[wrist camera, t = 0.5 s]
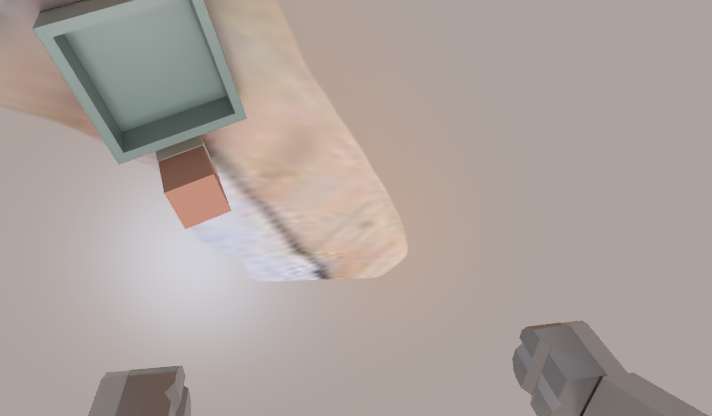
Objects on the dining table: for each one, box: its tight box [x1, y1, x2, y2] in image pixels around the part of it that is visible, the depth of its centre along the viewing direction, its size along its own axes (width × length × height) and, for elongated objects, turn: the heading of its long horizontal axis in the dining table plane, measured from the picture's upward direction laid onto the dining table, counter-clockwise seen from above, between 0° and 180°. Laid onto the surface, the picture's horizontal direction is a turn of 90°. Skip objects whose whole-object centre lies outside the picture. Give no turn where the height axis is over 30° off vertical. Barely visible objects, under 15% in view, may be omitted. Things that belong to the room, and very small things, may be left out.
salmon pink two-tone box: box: [156, 135, 231, 229], centre depth 50 cm, size 5×5×12 cm
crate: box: [33, 0, 247, 164], centre depth 45 cm, size 14×14×6 cm
